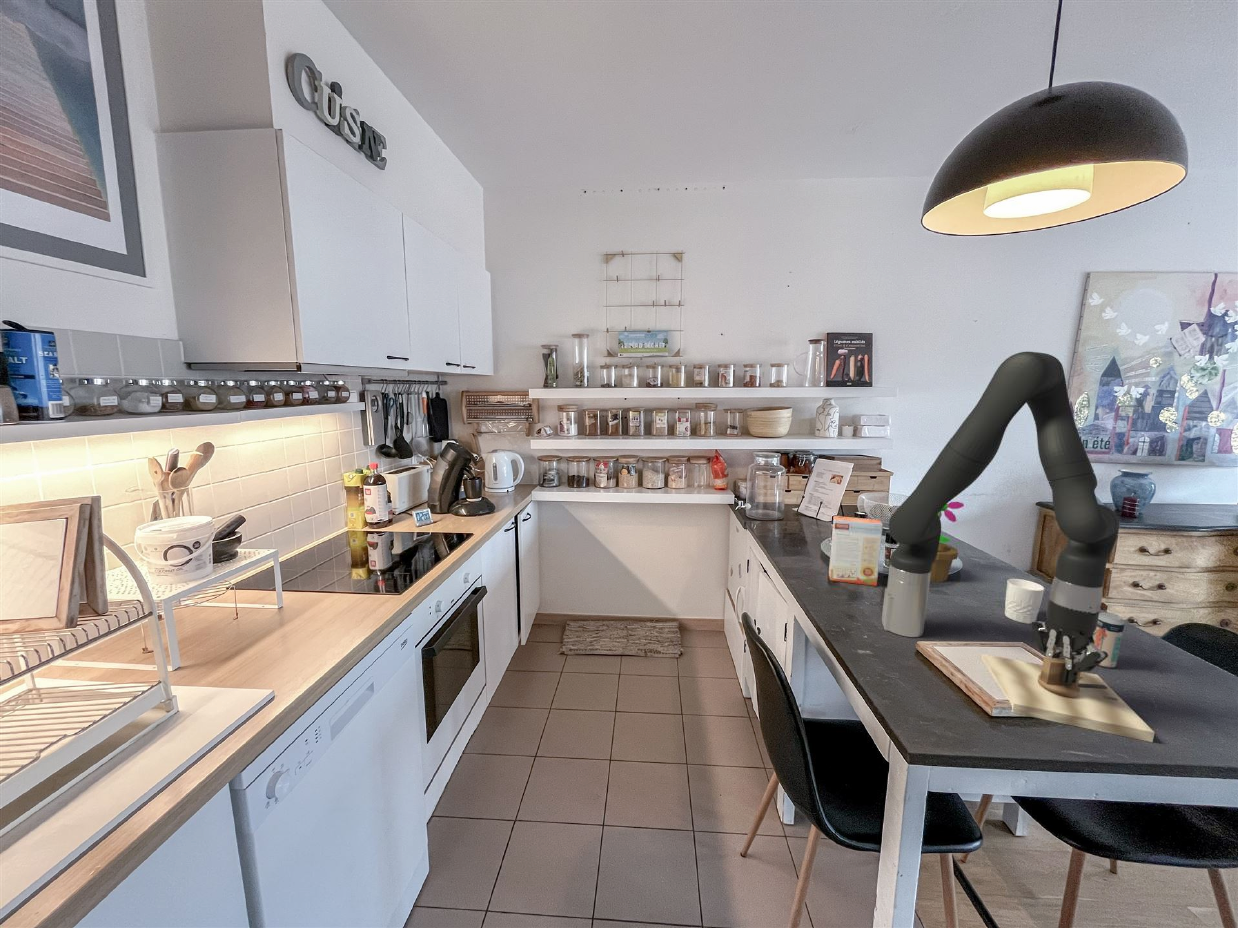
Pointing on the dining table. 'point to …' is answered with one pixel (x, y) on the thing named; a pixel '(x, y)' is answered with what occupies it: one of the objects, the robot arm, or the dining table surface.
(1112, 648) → the beer can
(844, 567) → the cracker box
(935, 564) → the flowerpot
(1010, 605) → the white cup
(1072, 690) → the tuning knob
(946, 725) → the dining table surface
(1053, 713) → the dial board
